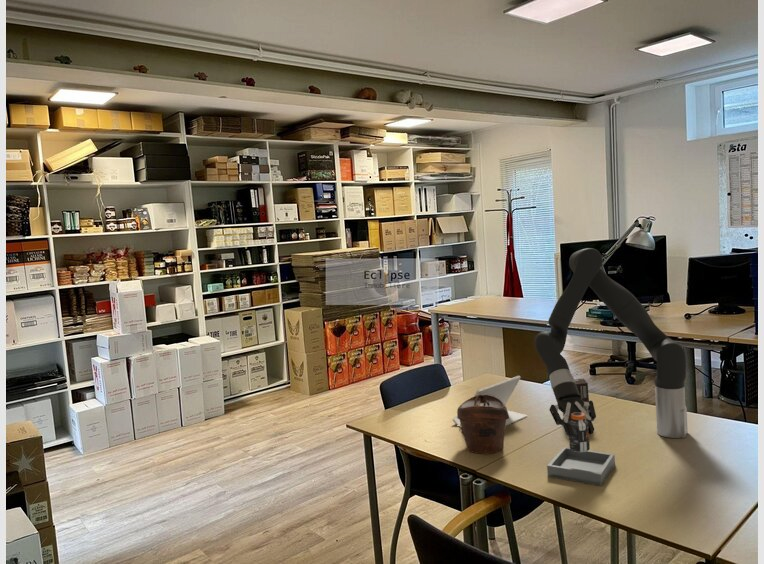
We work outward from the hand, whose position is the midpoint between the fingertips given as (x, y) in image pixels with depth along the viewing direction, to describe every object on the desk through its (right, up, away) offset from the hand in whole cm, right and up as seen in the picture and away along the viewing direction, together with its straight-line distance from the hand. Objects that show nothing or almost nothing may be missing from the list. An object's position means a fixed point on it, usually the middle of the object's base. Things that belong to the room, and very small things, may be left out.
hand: (581, 434), depth 177 cm
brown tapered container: (-25, -12, +29) cm, 40 cm away
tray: (+1, -12, +3) cm, 12 cm away
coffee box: (+13, -7, +44) cm, 47 cm away
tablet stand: (-18, -9, +54) cm, 58 cm away
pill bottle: (0, -5, +2) cm, 6 cm away
